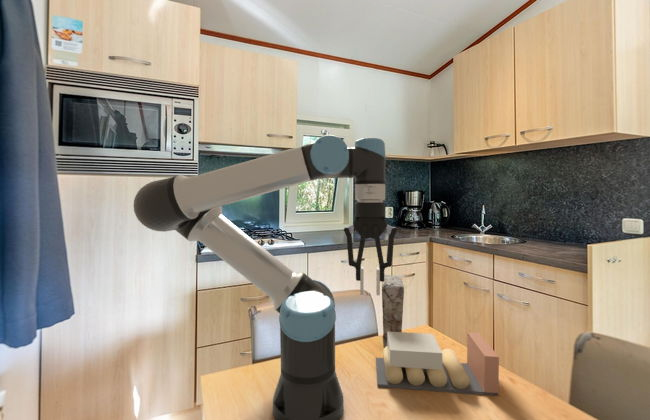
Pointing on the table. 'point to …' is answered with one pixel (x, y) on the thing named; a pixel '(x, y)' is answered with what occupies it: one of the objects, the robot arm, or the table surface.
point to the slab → (414, 350)
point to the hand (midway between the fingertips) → (369, 293)
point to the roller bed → (427, 383)
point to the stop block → (483, 362)
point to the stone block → (392, 305)
